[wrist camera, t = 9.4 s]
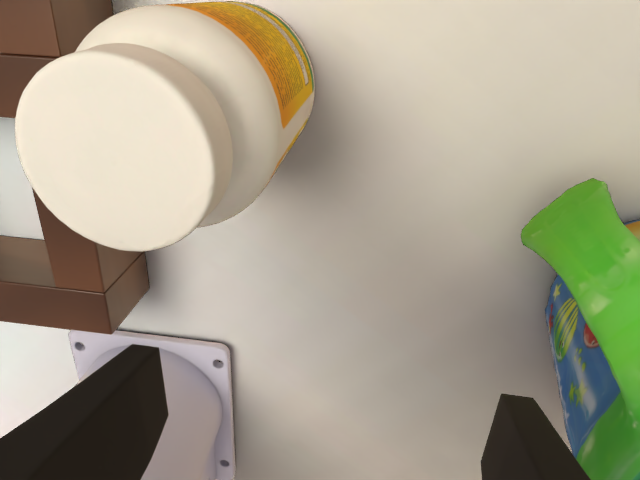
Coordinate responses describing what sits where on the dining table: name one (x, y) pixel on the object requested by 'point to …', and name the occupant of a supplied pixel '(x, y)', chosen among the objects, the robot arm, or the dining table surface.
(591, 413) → the snack cup
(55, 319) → the holder
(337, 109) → the dining table surface
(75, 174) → the supplement bottle
